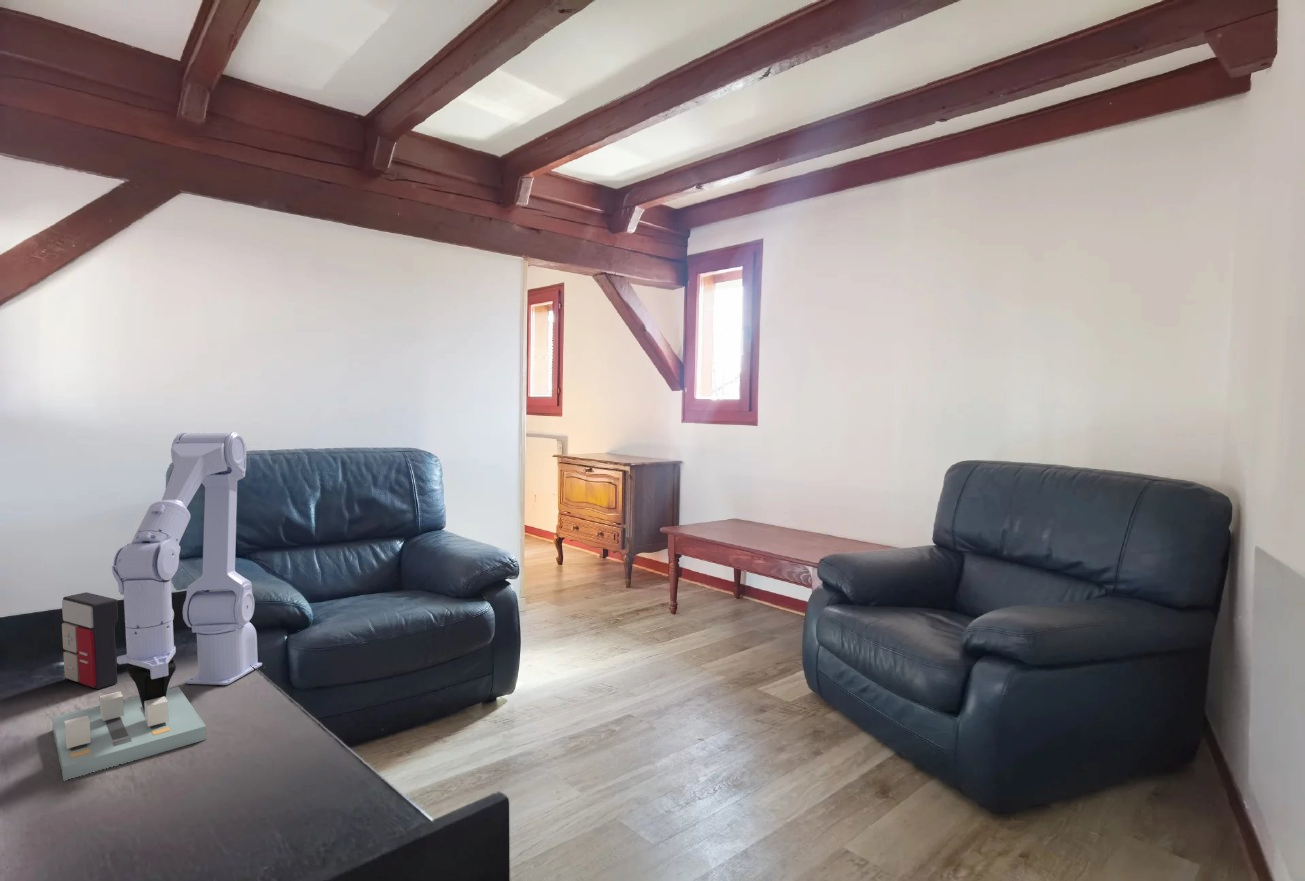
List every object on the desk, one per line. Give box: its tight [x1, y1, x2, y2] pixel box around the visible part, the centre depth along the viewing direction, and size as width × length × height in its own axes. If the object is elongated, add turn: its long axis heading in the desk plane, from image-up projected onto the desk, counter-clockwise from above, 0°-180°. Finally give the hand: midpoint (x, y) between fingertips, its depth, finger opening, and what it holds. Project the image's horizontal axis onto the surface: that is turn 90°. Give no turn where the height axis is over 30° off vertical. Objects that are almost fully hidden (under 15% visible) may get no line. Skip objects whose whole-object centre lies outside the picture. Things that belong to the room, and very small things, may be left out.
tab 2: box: [99, 690, 124, 721], centre depth 104 cm, size 2×2×3 cm
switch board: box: [51, 686, 208, 782], centre depth 103 cm, size 20×16×2 cm
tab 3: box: [144, 696, 169, 727], centre depth 102 cm, size 2×2×3 cm
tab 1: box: [64, 715, 91, 749], centre depth 96 cm, size 2×2×3 cm
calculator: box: [61, 591, 119, 690], centre depth 123 cm, size 11×4×15 cm, turn 62°
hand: (153, 711), depth 104 cm, fingers closed
